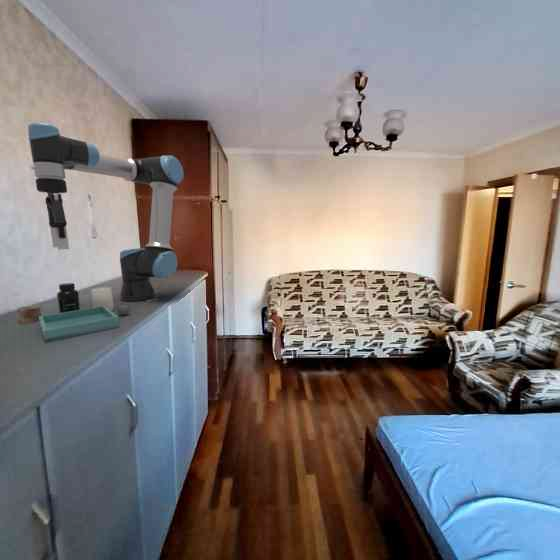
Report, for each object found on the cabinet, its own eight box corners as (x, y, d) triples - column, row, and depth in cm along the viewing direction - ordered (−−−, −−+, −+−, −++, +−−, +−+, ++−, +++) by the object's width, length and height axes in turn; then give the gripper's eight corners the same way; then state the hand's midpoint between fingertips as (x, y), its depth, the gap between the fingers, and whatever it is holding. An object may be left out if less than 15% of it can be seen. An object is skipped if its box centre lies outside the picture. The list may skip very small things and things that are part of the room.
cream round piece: (111, 307, 128) (109, 286, 126) (116, 310, 123) (113, 288, 121) (92, 310, 123) (89, 288, 122) (96, 313, 118) (93, 291, 116)
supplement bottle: (70, 317, 114) (65, 286, 112) (55, 316, 115) (50, 285, 113) (85, 312, 121) (81, 282, 118) (70, 311, 122) (66, 282, 120)
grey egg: (128, 312, 119) (127, 303, 118) (131, 315, 116) (130, 304, 115) (116, 315, 116) (115, 304, 115) (119, 317, 113) (118, 306, 112)
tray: (105, 314, 117) (104, 305, 116) (119, 326, 102) (118, 316, 102) (40, 326, 104) (38, 316, 103) (45, 342, 89) (43, 331, 89)
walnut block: (36, 318, 114) (34, 305, 113) (42, 320, 111) (40, 307, 110) (19, 322, 109) (17, 308, 109) (25, 324, 107) (22, 310, 106)
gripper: (32, 182, 100) (42, 247, 104) (38, 172, 82) (50, 251, 85) (60, 184, 105) (69, 245, 109) (71, 174, 86) (81, 249, 90)
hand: (60, 248), depth 97 cm, fingers open, 13 cm apart
